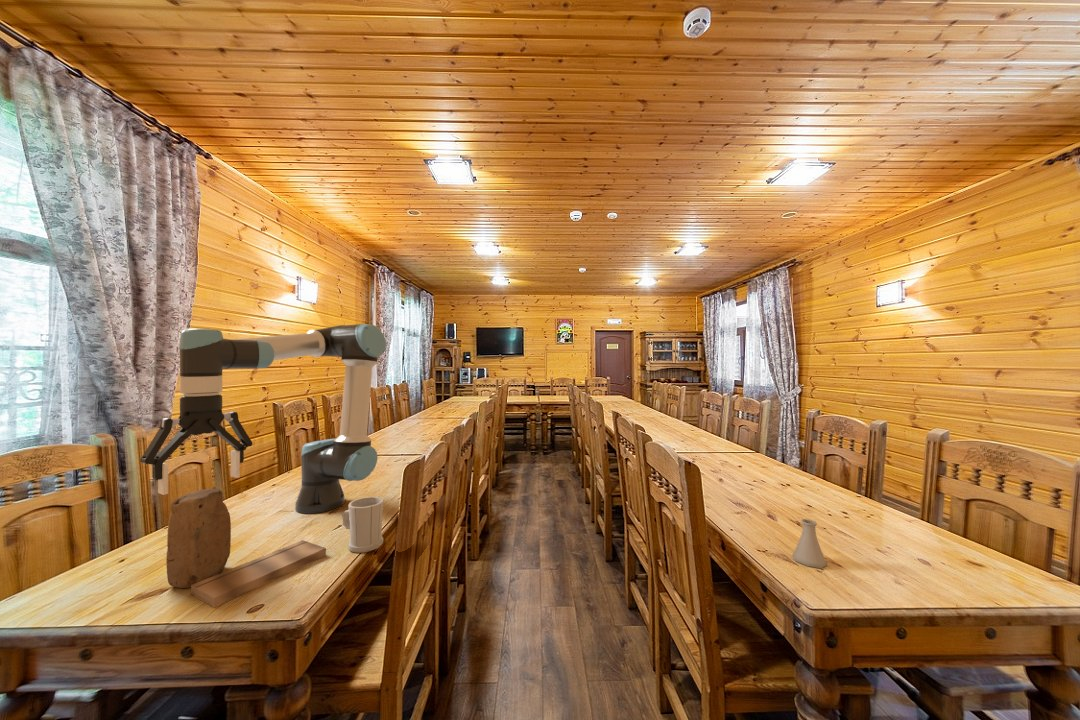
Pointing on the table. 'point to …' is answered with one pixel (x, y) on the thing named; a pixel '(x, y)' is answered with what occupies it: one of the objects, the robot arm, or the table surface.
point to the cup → (364, 524)
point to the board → (256, 573)
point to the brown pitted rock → (197, 537)
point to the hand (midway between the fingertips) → (201, 484)
